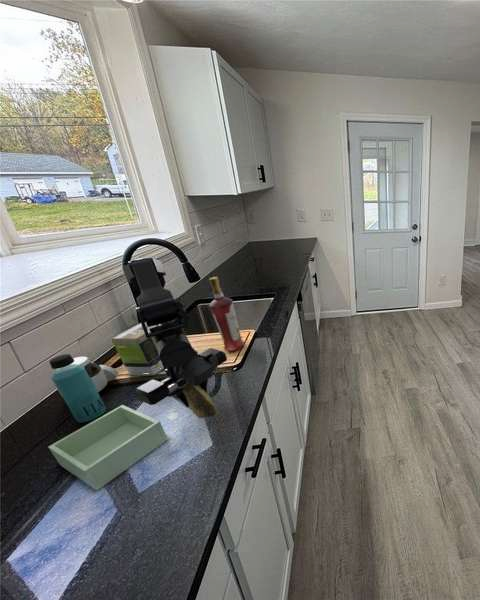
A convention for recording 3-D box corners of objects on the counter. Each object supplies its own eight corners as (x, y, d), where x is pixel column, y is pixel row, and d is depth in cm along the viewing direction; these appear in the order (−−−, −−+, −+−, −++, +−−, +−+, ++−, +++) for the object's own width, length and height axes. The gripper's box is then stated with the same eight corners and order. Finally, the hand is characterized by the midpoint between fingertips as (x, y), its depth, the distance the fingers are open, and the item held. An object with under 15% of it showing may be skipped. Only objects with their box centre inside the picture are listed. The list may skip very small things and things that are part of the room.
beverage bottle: (90, 428, 83) (54, 365, 75) (71, 426, 85) (33, 363, 77) (115, 411, 89) (83, 351, 81) (97, 409, 90) (64, 349, 83)
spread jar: (62, 407, 92) (42, 375, 87) (78, 386, 101) (60, 356, 97) (114, 393, 97) (97, 361, 92) (123, 374, 106) (109, 345, 102)
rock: (170, 397, 81) (162, 414, 72) (190, 368, 82) (185, 380, 74) (212, 412, 86) (210, 429, 77) (230, 384, 87) (230, 397, 78)
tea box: (164, 351, 119) (150, 316, 113) (187, 352, 118) (174, 316, 112) (127, 375, 105) (109, 337, 100) (153, 376, 104) (136, 338, 98)
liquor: (228, 344, 121) (207, 275, 111) (248, 342, 122) (228, 273, 111) (221, 354, 115) (197, 282, 104) (241, 352, 115) (219, 280, 104)
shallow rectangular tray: (131, 421, 85) (122, 404, 83) (168, 439, 78) (159, 421, 76) (60, 465, 73) (47, 446, 70) (96, 490, 66) (84, 471, 64)
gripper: (151, 379, 62) (178, 438, 68) (233, 334, 77) (248, 386, 83) (121, 367, 66) (148, 424, 72) (203, 328, 82) (220, 377, 88)
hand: (195, 401), depth 79 cm, fingers closed on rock, 4 cm apart
